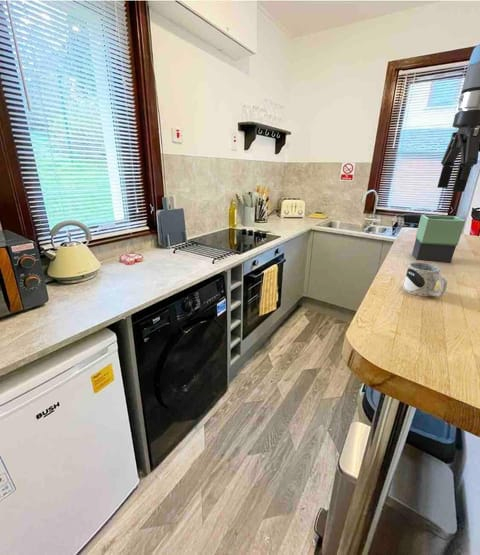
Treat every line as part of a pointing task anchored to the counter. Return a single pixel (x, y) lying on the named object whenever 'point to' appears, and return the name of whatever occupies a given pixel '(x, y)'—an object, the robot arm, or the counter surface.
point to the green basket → (440, 229)
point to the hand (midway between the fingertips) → (449, 189)
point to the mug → (423, 280)
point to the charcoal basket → (433, 252)
